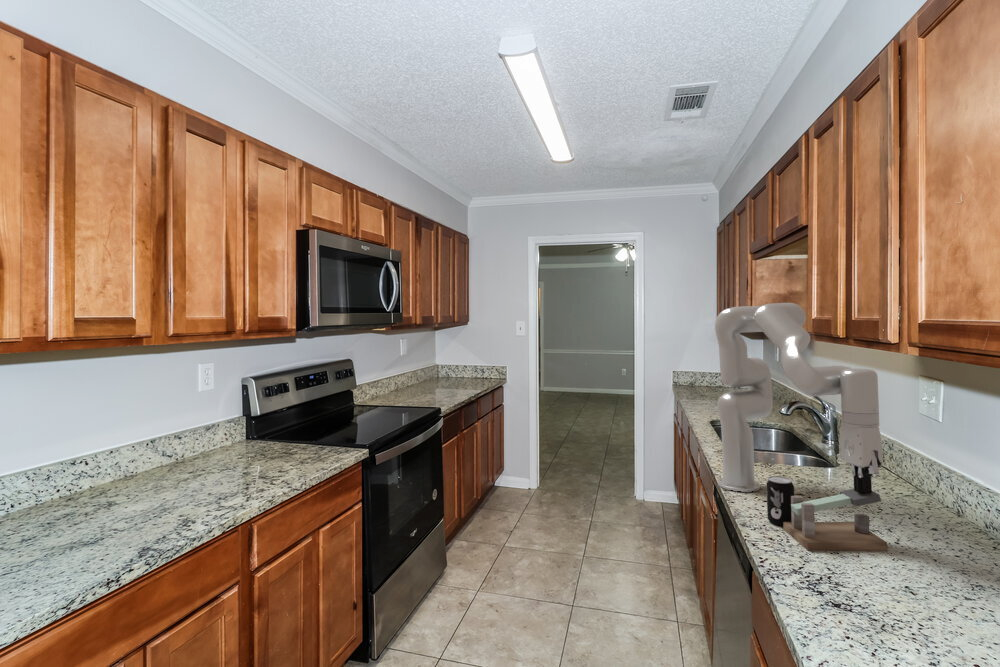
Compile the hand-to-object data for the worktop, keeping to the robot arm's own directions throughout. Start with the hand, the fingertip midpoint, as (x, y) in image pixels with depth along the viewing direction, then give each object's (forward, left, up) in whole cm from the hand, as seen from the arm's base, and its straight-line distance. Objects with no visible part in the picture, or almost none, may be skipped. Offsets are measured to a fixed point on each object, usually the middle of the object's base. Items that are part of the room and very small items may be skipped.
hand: (862, 492), depth 122 cm
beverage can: (-11, -15, -12) cm, 22 cm away
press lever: (0, -7, -3) cm, 7 cm away
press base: (0, -7, -12) cm, 14 cm away
